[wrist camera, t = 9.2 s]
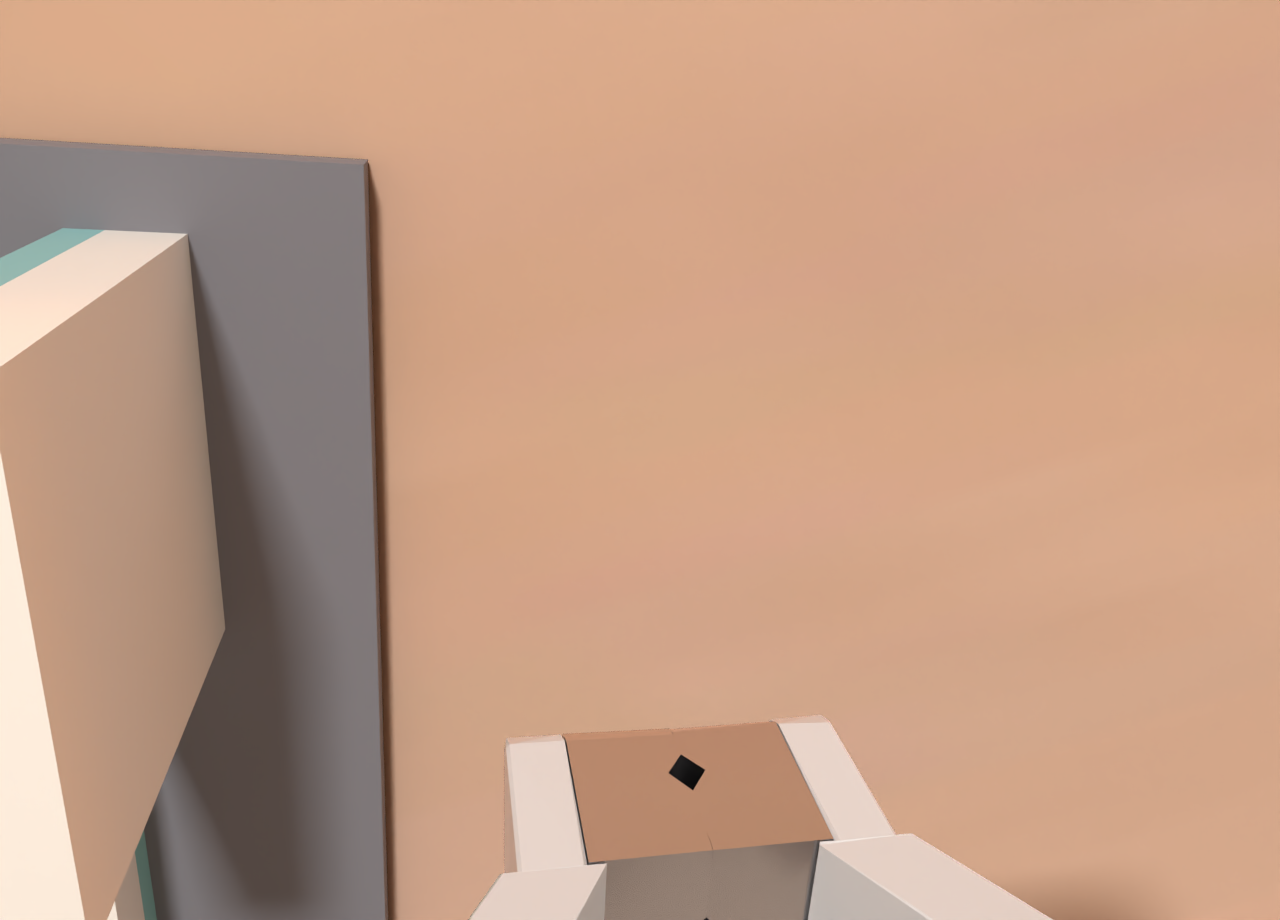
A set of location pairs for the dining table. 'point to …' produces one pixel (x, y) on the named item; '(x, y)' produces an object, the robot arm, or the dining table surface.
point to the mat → (262, 517)
